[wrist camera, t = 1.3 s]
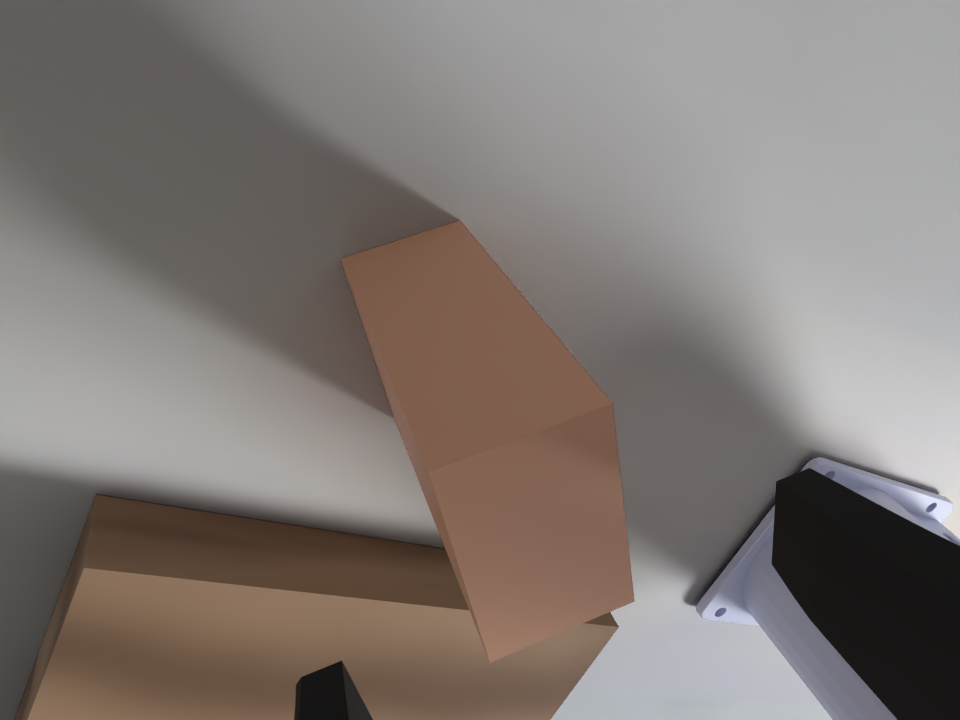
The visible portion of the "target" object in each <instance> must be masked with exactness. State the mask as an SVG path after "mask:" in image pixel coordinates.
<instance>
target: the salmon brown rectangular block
mask: <svg viewBox="0 0 960 720" xmlns="http://www.w3.org/2000/svg"><path fill="white" fill-rule="evenodd" d="M341 262H342V265H343V268H344V271H345V274H346V277H347V279H348V282H349V285H350V288H351V291H352V294H353V297H354V300H355V303H356V306H357V309H358V312H359V315H360V318H361V321H362V324H363V327H364V330H365V333H366V336H367V339H368V341H369V344H370V347H371V350H372V353H373V356H374V359H375V362H376V365H377V368H378V371H379V374H380V377H381V380H382V383H383V386H384V389H385V392H386V395H387V398H388V401H389V403H390V406H391V409H392V412H393V415H394V418H395V421H396V423H397V426H398V429H399V431H400V434H401V436H402V439H403V441H404V444H405V447H406V449H407V452H408V454H409V457H410V459H411V462H412V465H413V467H414V470H415V472H416V475H417V477H418V480H419V482H420V485H421V488H422V490H423V493H424V495H425V498H426V500H427V503H428V506H429V508H430V511H431V513H432V516H433V518H434V521H435V524H436V526H437V529H438V531H439V534H440V536H441V539H442V541H443V544H444V547H445V549H446V552H447V554H448V557H449V559H450V562H451V565H452V567H453V570H454V572H455V575H456V577H457V580H458V583H459V585H460V588H461V590H462V593H463V595H464V598H465V600H466V603H467V606H468V608H469V611H470V613H471V616H472V618H473V621H474V624H475V626H476V629H477V631H478V634H479V636H480V639H481V642H482V644H483V647H484V649H485V652H486V654H487V657H488V660H489V662H490V663H491V662H493V661H496V660H498V659H500V658H503V657H505V656H508V655H510V654H512V653H515V652H517V651H519V650H522V649H524V648H526V647H529V646H531V645H533V644H536V643H538V642H540V641H543V640H545V639H547V638H550V637H552V636H554V635H557V634H559V633H561V632H564V631H566V630H568V629H571V628H573V627H575V626H578V625H580V624H583V623H585V622H587V621H590V620H592V619H594V618H597V617H599V616H601V615H604V614H606V613H608V612H611V611H613V610H615V609H618V608H620V607H622V606H625V605H627V604H629V603H632V602H634V593H633V584H632V575H631V566H630V557H629V548H628V539H627V530H626V521H625V512H624V503H623V494H622V485H621V476H620V467H619V458H618V449H617V440H616V431H615V422H614V413H613V404H612V402H611V401H610V400H609V398H608V397H607V396H606V395H605V394H604V392H603V391H602V390H601V389H600V388H599V386H598V385H597V384H596V383H595V382H594V380H593V379H592V378H591V377H590V376H589V374H588V373H587V372H586V371H585V370H584V368H583V367H582V366H581V365H580V364H579V362H578V361H577V360H576V359H575V358H574V356H573V355H572V354H571V353H570V352H569V350H568V349H567V348H566V347H565V346H564V344H563V343H562V342H561V341H560V340H559V338H558V337H557V336H556V335H555V334H554V332H553V331H552V330H551V329H550V328H549V326H548V325H547V324H546V323H545V322H544V320H543V319H542V318H541V317H540V316H539V314H538V313H537V312H536V311H535V310H534V308H533V307H532V306H531V305H530V304H529V302H528V301H527V300H526V299H525V298H524V296H523V295H522V294H521V293H520V292H519V290H518V289H517V288H516V287H515V286H514V284H513V283H512V282H511V281H510V280H509V278H508V277H507V276H506V275H505V274H504V272H503V271H502V270H501V269H500V268H499V266H498V265H497V264H496V263H495V262H494V260H493V259H492V258H491V257H490V256H489V254H488V253H487V252H486V251H485V250H484V248H483V247H482V246H481V245H480V244H479V242H478V241H477V240H476V239H475V238H474V236H473V235H472V234H471V233H470V232H469V230H468V229H467V228H466V227H465V226H464V224H463V223H462V222H461V221H460V220H459V221H456V222H453V223H450V224H447V225H444V226H440V227H437V228H434V229H431V230H428V231H425V232H422V233H419V234H416V235H413V236H410V237H406V238H403V239H400V240H397V241H394V242H391V243H388V244H385V245H382V246H379V247H376V248H372V249H369V250H366V251H363V252H360V253H357V254H354V255H351V256H348V257H345V258H341Z"/></svg>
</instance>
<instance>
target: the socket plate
mask: <svg viewBox="0 0 960 720" xmlns="http://www.w3.org/2000/svg"><path fill="white" fill-rule="evenodd" d="M617 629H618V625H617V623H616V622H615V620H614V618H613V616H612V615H611V613H610V612H608V613H606V614H604V615H601V616H599V617H597V618H594V619H592V620H590V621H587V622H585V623H583V624H580V625H578V626H575V627H573V628H571V629H568V630H566V631H564V632H561V633H559V634H557V635H554V636H552V637H550V638H547V639H545V640H543V641H540V642H538V643H536V644H533V645H531V646H529V647H526V648H524V649H522V650H519V651H517V652H515V653H512V654H510V655H508V656H505V657H503V658H500V659H498V660H496V661H493V662H491V663H490V662H489V660H488V657H487V654H486V652H485V649H484V647H483V644H482V642H481V639H480V636H479V634H478V631H477V629H476V626H475V624H474V621H473V618H472V616H471V613H470V611H469V608H468V606H467V603H466V600H465V598H464V595H463V593H462V590H461V588H460V585H459V583H458V580H457V577H456V575H455V572H454V570H453V567H452V565H451V562H450V559H449V557H448V554H447V552H446V549H441V548H435V547H429V546H422V545H416V544H409V543H403V542H397V541H390V540H384V539H377V538H371V537H365V536H358V535H352V534H345V533H339V532H333V531H326V530H320V529H313V528H307V527H300V526H294V525H288V524H281V523H275V522H268V521H262V520H256V519H249V518H243V517H236V516H230V515H224V514H217V513H211V512H204V511H198V510H192V509H185V508H179V507H172V506H166V505H160V504H153V503H147V502H140V501H134V500H128V499H121V498H115V497H108V496H102V495H96V496H95V499H94V502H93V504H92V507H91V510H90V513H89V515H88V518H87V521H86V524H85V526H84V529H83V532H82V535H81V537H80V540H79V543H78V546H77V548H76V551H75V554H74V557H73V559H72V562H71V565H70V568H69V570H68V573H67V576H66V579H65V581H64V584H63V587H62V590H61V592H60V595H59V598H58V601H57V603H56V606H55V609H54V612H53V614H52V617H51V620H50V623H49V625H48V628H47V631H46V634H45V636H44V639H43V642H42V645H41V647H40V650H39V653H38V656H37V658H36V661H35V664H34V667H33V669H32V672H31V675H30V678H29V680H28V683H27V686H26V689H25V691H24V694H23V697H22V700H21V702H20V705H19V708H18V711H17V713H16V716H15V719H14V720H294V714H295V697H296V684H297V683H298V681H299V680H300V678H301V677H303V676H305V675H308V674H310V673H312V672H315V671H317V670H320V669H322V668H325V667H327V666H329V665H332V664H334V663H337V662H339V661H342V662H343V664H344V665H345V667H346V669H347V671H348V673H349V675H350V677H351V679H352V681H353V683H354V684H355V686H356V688H357V690H358V692H359V694H360V696H361V698H362V700H363V702H364V703H365V705H366V707H367V709H368V711H369V713H370V715H371V717H372V719H373V720H550V719H551V718H552V717H553V715H554V714H555V713H556V711H557V710H558V709H559V707H560V706H561V704H562V703H563V702H564V700H565V699H566V698H567V696H568V695H569V694H570V692H571V691H572V690H573V688H574V687H575V686H576V684H577V683H578V681H579V680H580V679H581V677H582V676H583V675H584V673H585V672H586V671H587V669H588V668H589V667H590V665H591V664H592V663H593V661H594V660H595V658H596V657H597V656H598V654H599V653H600V652H601V650H602V649H603V648H604V646H605V645H606V644H607V642H608V641H609V640H610V638H611V637H612V635H613V634H614V633H615V631H616V630H617Z"/></svg>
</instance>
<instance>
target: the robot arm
mask: <svg viewBox="0 0 960 720" xmlns="http://www.w3.org/2000/svg"><path fill="white" fill-rule="evenodd" d="M952 509H953V503H952V502H951V501H950V500H949V499H947V498H946V497H944V496H941V495H938V494H935V493H932V492H929V491H925V490H922V489H919V488H916V487H913V486H910V485H907V484H904V483H900V482H897V481H894V480H891V479H888V478H885V477H882V476H879V475H875V474H872V473H869V472H866V471H863V470H860V469H857V468H854V467H850V466H847V465H844V464H841V463H838V462H835V461H832V460H829V459H826V458H822V457H817V458H814V459H812V460H810V461H809V462H808V463H807V464H806V465H805V466H804V467H803V469H802V470H801V471H800V472H798V473H796V474H793V475H791V476H789V477H786V478H784V479H781V480H779V481H776V497H775V505H774V506H773V507H772V509H771V510H770V511H769V512H768V514H767V515H766V516H765V518H764V519H763V520H762V521H761V523H760V524H759V525H758V527H757V528H756V529H755V530H754V532H753V533H752V534H751V536H750V537H749V538H748V539H747V541H746V542H745V543H744V545H743V546H742V547H741V548H740V550H739V551H738V552H737V554H736V555H735V556H734V557H733V559H732V560H731V561H730V563H729V564H728V565H727V566H726V568H725V569H724V570H723V571H722V573H721V574H720V575H719V577H718V578H717V579H716V580H715V582H714V583H713V584H712V586H711V587H710V588H709V589H708V591H707V592H706V593H705V595H704V596H703V597H702V598H701V600H700V601H699V602H698V604H697V606H696V611H697V612H698V614H699V615H700V617H701V618H703V619H708V620H716V621H723V622H731V623H739V624H747V625H755V626H760V627H761V628H762V629H763V631H764V632H765V633H766V634H767V636H768V637H769V638H770V640H771V641H772V642H773V643H774V645H775V646H776V647H777V649H778V650H779V651H780V652H781V654H782V655H783V656H784V657H785V659H786V660H787V661H788V663H789V664H790V665H791V666H792V668H793V669H794V670H795V672H796V673H797V674H798V675H799V677H800V678H801V679H802V681H803V682H804V683H805V684H806V686H807V687H808V688H809V690H810V691H811V692H812V693H813V695H814V696H815V697H816V699H817V700H818V701H819V702H820V704H821V705H822V706H823V708H824V709H825V710H826V711H827V713H828V714H829V715H830V716H831V718H832V719H833V720H960V539H959V538H958V537H957V536H955V535H954V534H953V533H952V532H951V531H949V530H948V529H947V528H946V527H945V526H943V525H942V524H941V522H942V521H943V520H944V519H945V518H946V517H947V516H948V515H949V513H950V512H951V511H952ZM294 720H373V719H372V717H371V715H370V713H369V711H368V709H367V707H366V705H365V703H364V702H363V700H362V698H361V696H360V694H359V692H358V690H357V688H356V686H355V684H354V683H353V681H352V679H351V677H350V675H349V673H348V671H347V669H346V667H345V665H344V664H343V662H342V661H339V662H337V663H334V664H332V665H329V666H327V667H325V668H322V669H320V670H317V671H315V672H312V673H310V674H308V675H305V676H303V677H301V678H300V680H299V681H298V683H297V684H296V697H295V714H294Z"/></svg>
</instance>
